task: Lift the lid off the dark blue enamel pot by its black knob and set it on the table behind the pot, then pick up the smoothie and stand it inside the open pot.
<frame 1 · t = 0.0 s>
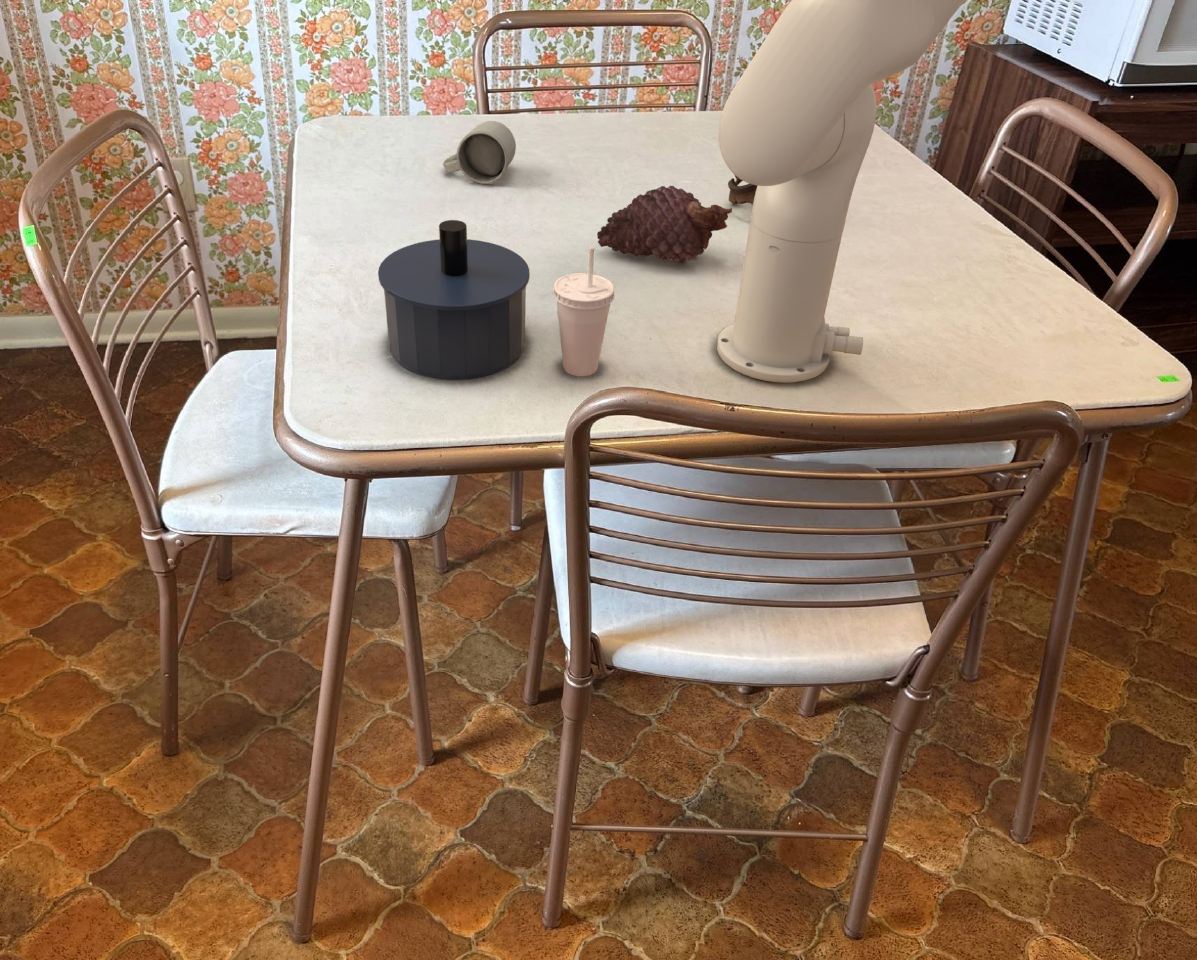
pot lid: (454, 274, 104), point 8 cm above the table, touching pot
ceramic mug: (479, 176, 150), on the table
pine cone: (661, 257, 131), on the table
pot: (457, 344, 110), on the table
smoothie: (580, 368, 107), on the table
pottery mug: (764, 211, 145), on the table
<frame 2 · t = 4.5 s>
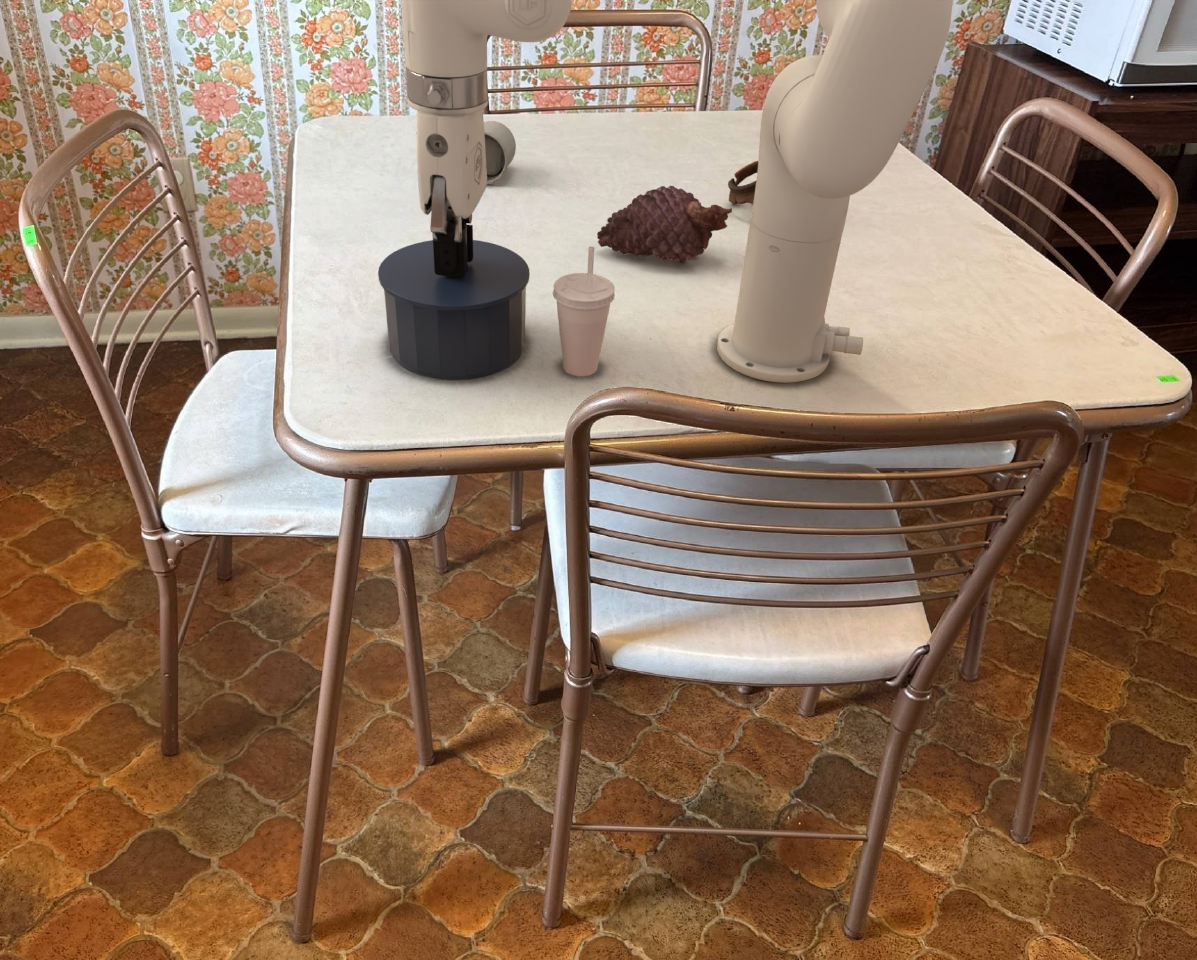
hand: (454, 266, 104), 10 cm above the table, tool pointing down, fingers closed on pot lid, 2 cm apart
pot lid: (454, 274, 104), point 9 cm above the table, touching gripper, pot
everything else where it was.
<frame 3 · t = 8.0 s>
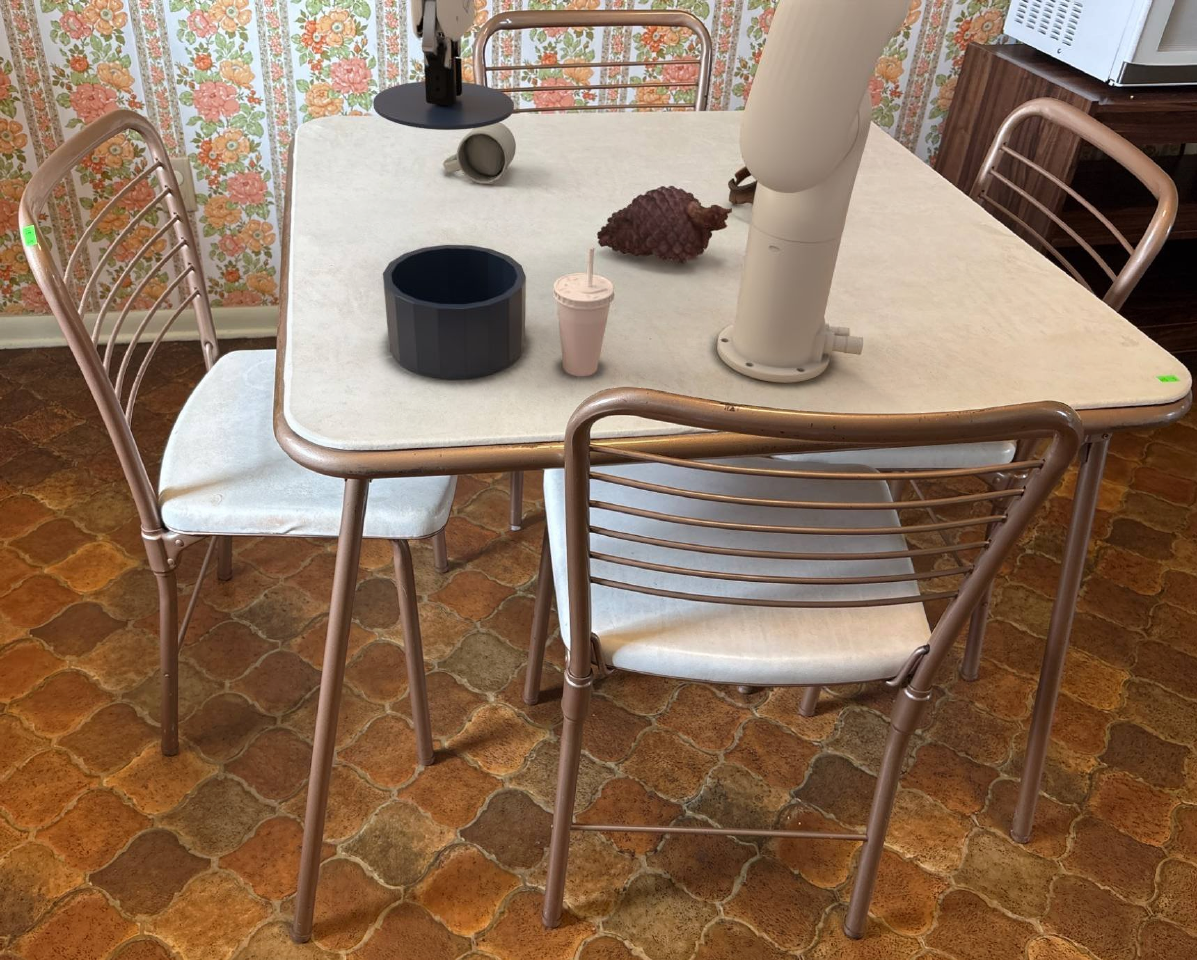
hand: (444, 97, 112), 21 cm above the table, tool pointing down, fingers closed on pot lid, 2 cm apart
pot lid: (444, 106, 112), point 20 cm above the table, touching gripper
everything else where it was.
when the fingers open (2 cm above the table, at t = 11.6 s): pot lid stays where it is, point 1 cm above the table.
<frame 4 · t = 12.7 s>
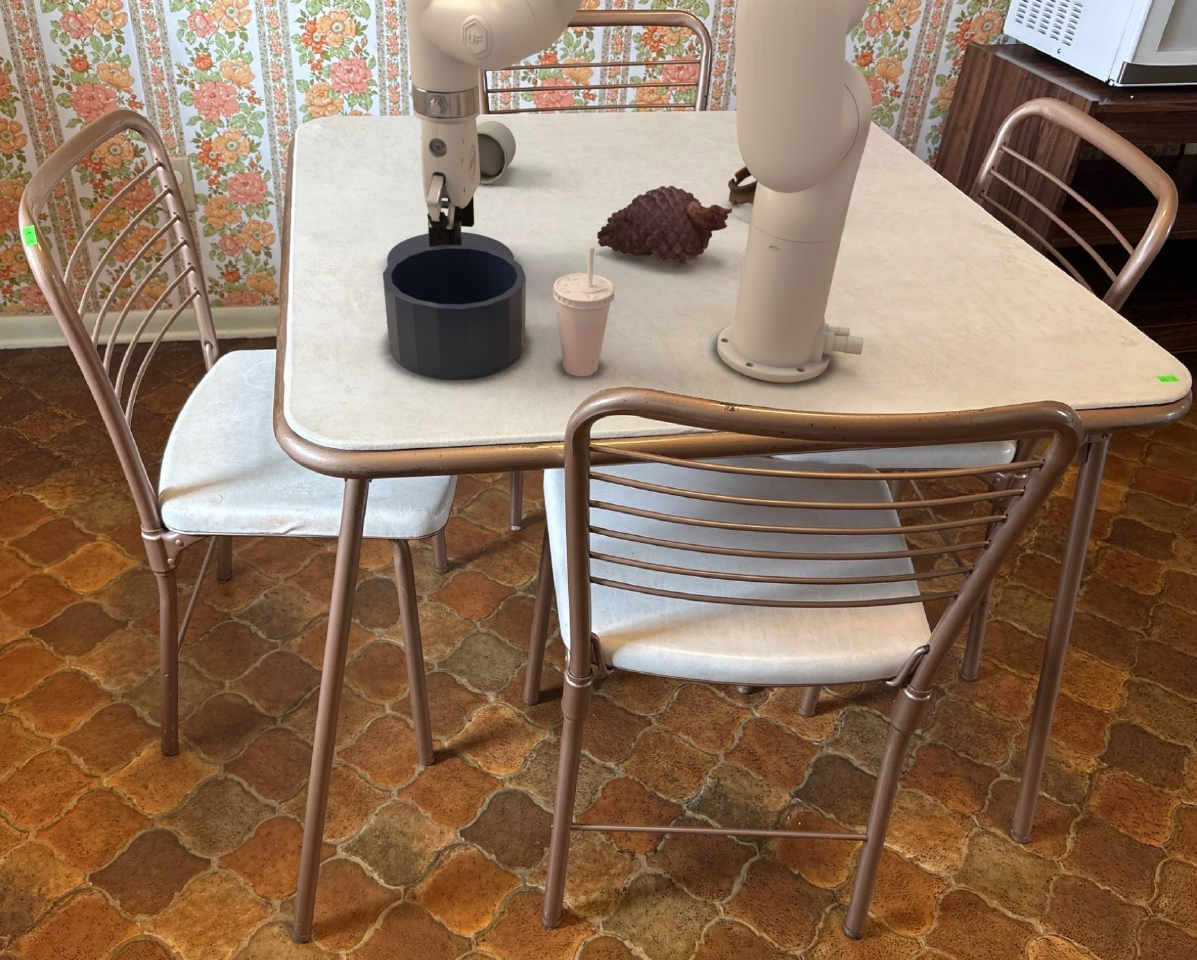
hand: (453, 241, 123), 3 cm above the table, tool pointing down, fingers open, 9 cm apart
pot lid: (451, 261, 125), point 1 cm above the table
everything else where it was.
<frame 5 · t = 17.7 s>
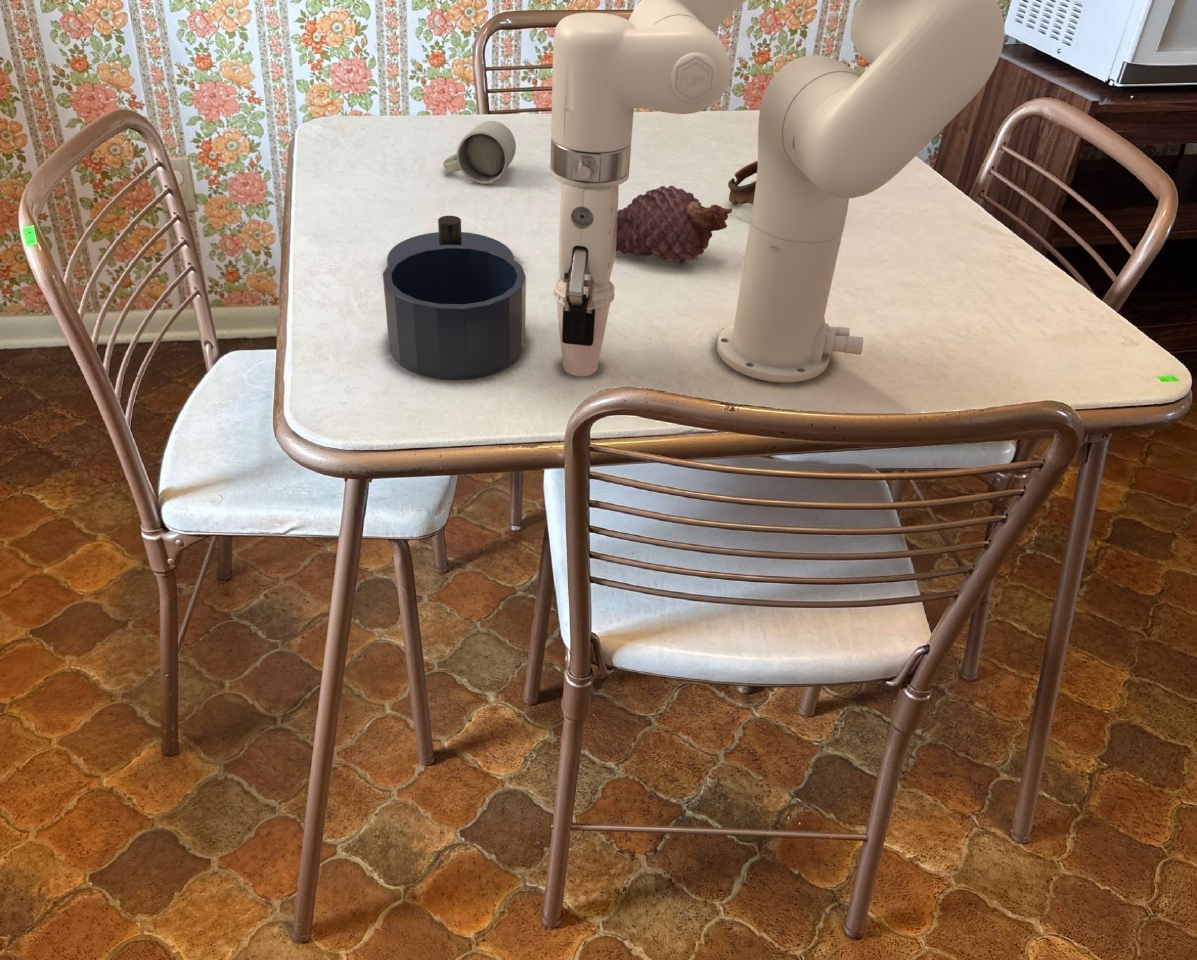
hand: (582, 325, 104), 5 cm above the table, tool pointing down, fingers closed on smoothie, 6 cm apart
smoothie: (580, 368, 107), on the table, touching gripper
everything else where it was.
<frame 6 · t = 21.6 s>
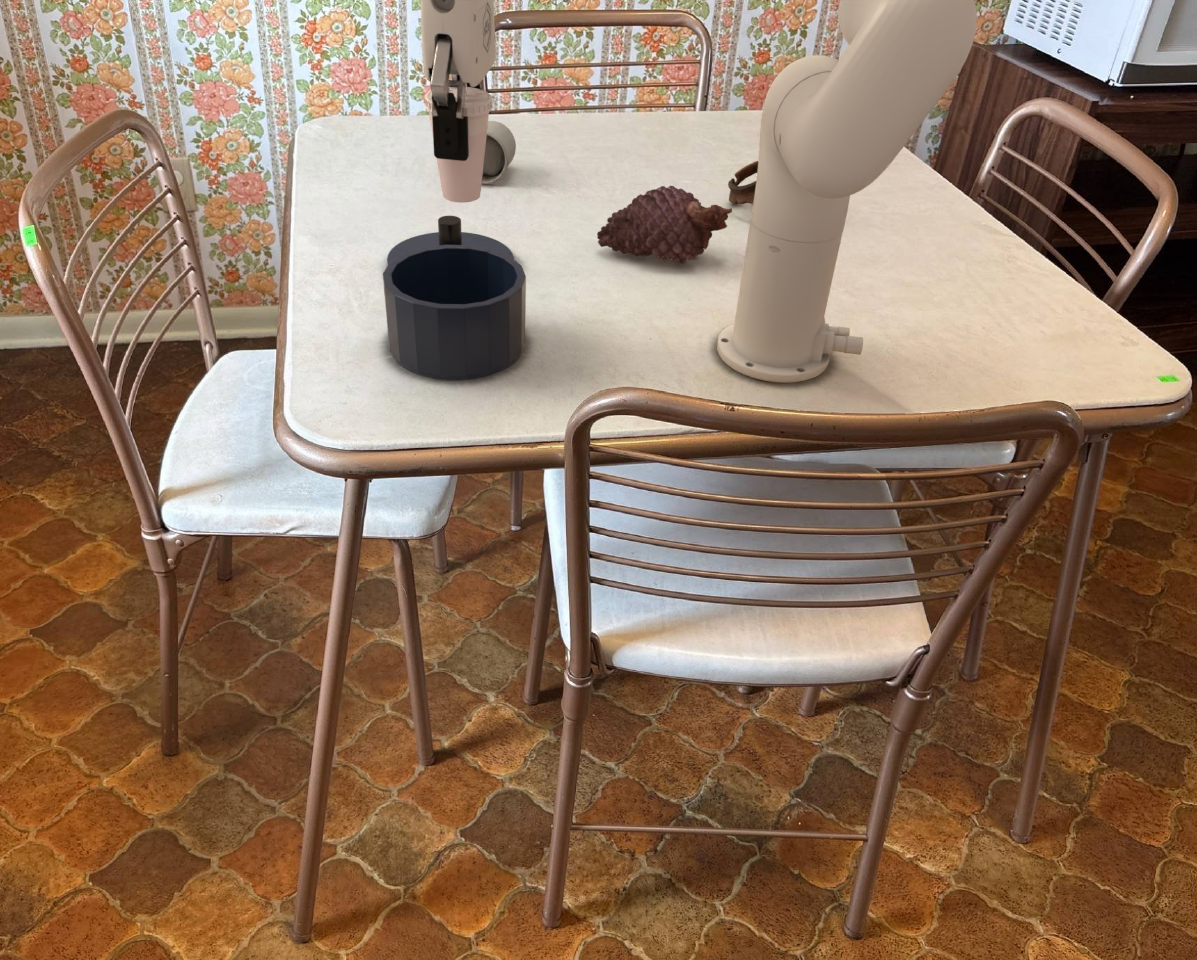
hand: (459, 144, 96), 23 cm above the table, tool pointing down, fingers closed on smoothie, 6 cm apart
smoothie: (461, 197, 99), point 17 cm above the table, touching gripper
everything else where it was.
when the fingers open (6 cm above the table, at t = 25.9 s): smoothie stays where it is, resting on pot.
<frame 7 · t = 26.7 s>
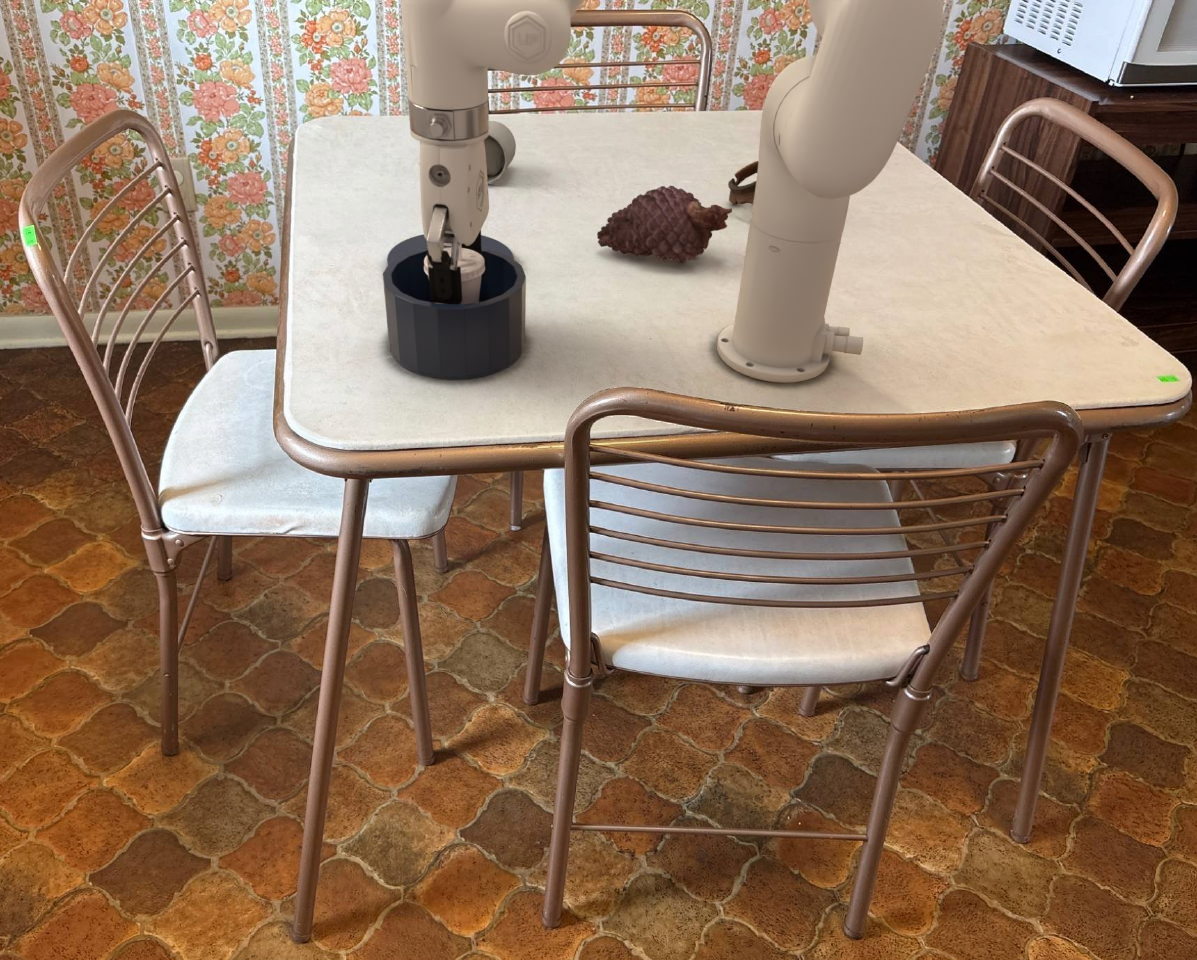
hand: (457, 281, 105), 8 cm above the table, tool pointing down, fingers open, 9 cm apart
smoothie: (457, 342, 109), resting on pot
everything else where it was.
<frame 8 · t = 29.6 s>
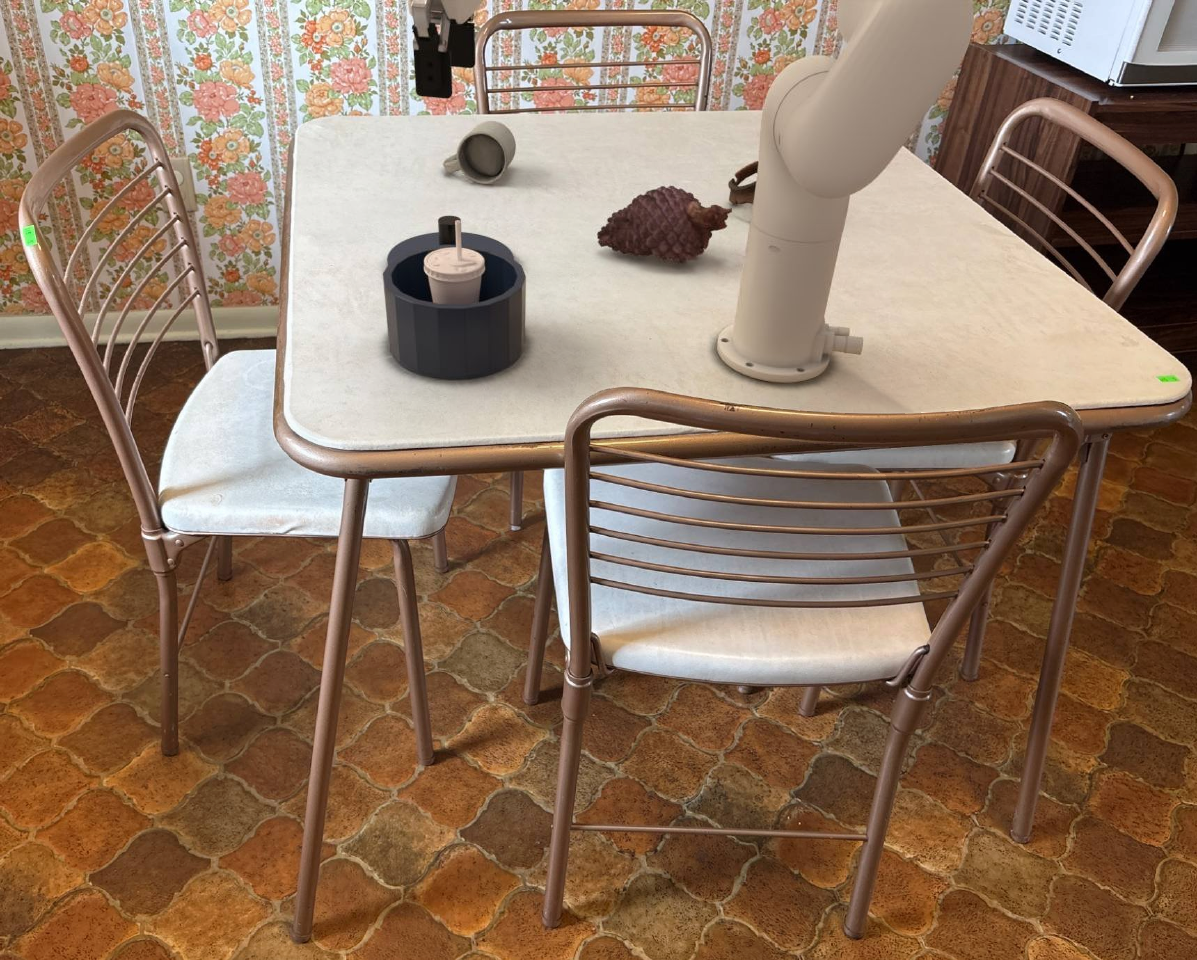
hand: (447, 80, 92), 28 cm above the table, tool pointing down, fingers open, 9 cm apart
nothing on the table moved.
at the end: pot lid inside the target area (0.1 cm from its centre), point 0.6 cm above the table; smoothie inside the target area in the pot (0.0 cm from its centre), point 0.3 cm above the pot's base; smoothie tilted 0° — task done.
